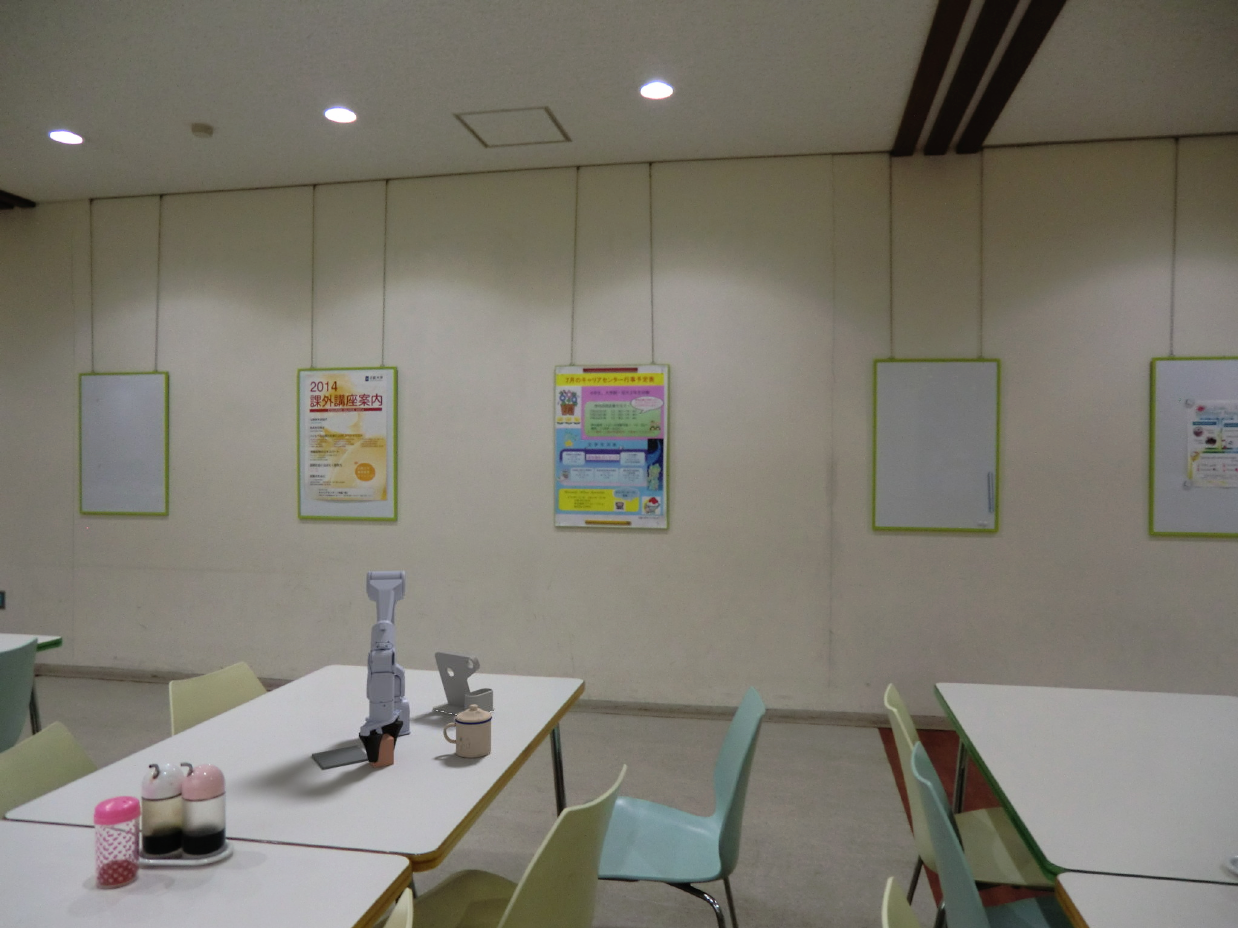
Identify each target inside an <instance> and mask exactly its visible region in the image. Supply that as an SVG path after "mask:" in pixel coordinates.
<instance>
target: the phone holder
mask: <svg viewBox="0 0 1238 928" xmlns="http://www.w3.org/2000/svg"><path fill="white" fill-rule="evenodd" d="M434 660H435V663H436V665H437V669H438V673H439V677H440V680H441V683H442V687H443V690H444V694H445V698H446V700H447V702H444V703H442V704H438V705H436V706H432V711H433V710H438V711H444V712H447V713H452V714H457V715H458V714H459V713H461V712H464V711H466V710H467V709H470V705H473V704H475V705H477V706H478V708H479V709H482V710H483V711H487V712H490V711H494V710H495V708H494V690H493V689H492V688H487V687H485V688H479V689H476V690H473V691H471V689H470V686H469V683H468V679H469V678H470V677H471V676H473V674H475V673H476V672H477V671H479V669H480V668H481V664H480V661H479V659H478V657H477V656H476V655H474V654H470V653H464V652H459V651H454V650H453V651H452V650H447V649H442V648H441V649H439V650H437V652H435V653H434ZM470 661H471V663H472V664H471V663H470ZM448 669H450V670H451V671H452V673H453V675H450V673H449V671H448ZM495 711H496V710H495Z"/></svg>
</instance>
